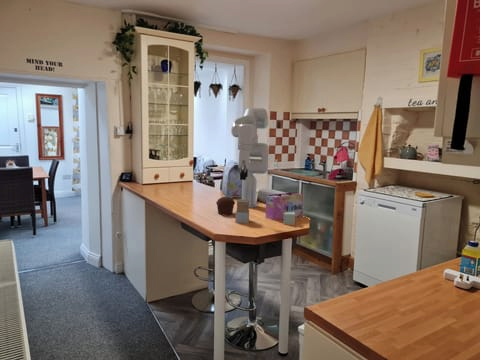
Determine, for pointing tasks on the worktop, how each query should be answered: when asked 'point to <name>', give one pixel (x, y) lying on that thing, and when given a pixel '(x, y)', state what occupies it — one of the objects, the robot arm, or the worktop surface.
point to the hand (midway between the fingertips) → (243, 178)
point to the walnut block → (242, 205)
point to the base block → (241, 217)
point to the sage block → (289, 218)
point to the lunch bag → (232, 180)
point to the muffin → (225, 205)
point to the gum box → (283, 205)
